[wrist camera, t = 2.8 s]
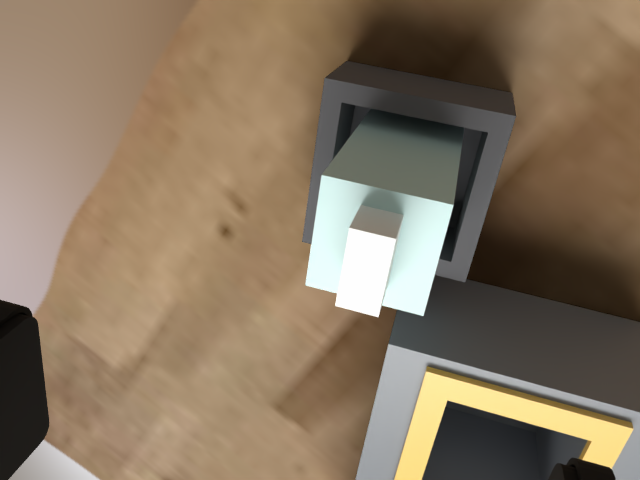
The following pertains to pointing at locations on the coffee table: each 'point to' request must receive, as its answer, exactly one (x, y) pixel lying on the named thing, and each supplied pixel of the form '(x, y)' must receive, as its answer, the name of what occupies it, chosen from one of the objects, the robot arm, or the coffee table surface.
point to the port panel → (504, 389)
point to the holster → (430, 104)
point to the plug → (385, 213)
